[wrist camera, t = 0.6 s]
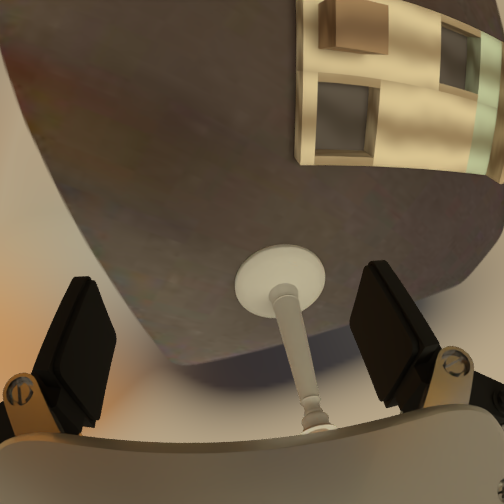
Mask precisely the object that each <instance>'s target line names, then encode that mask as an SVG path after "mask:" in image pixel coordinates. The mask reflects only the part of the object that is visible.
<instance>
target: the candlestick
mask: <svg viewBox="0 0 504 504" xmlns="http://www.w3.org/2000/svg"><path fill="white" fill-rule="evenodd" d="M324 283H325V271H324V268H323V265H322V263H321V261H320V260H319V258H318V257H317V256H316V255H315V254H314V253H313V252H311V251H310V250H308V249H306V248H304V247H301V246H298V245H292V244H279V245H273V246H269V247H266V248H264V249H261V250H259V251H257V252H256V253H254V254H253V255H251V256H250V257H249V258H248V259H246V260H245V261H244V263H243V264H242V265H241V267H240V268H239V270H238V272H237V275H236V278H235V292H236V296H237V298H238V300H239V302H240V303H241V305H242V306H243V307H244V308H245V309H247V310H248V311H250V312H251V313H253V314H255V315H258V316H262V317H267V318H276V319H277V322H278V326H279V329H280V333H281V336H282V339H283V343H284V346H285V350H286V353H287V356H288V360H289V363H290V367H291V370H292V374H293V377H294V380H295V384H296V388H297V391H298V395H299V398H300V404H301V405H302V406H303V407H304V410H305V412H304V416H305V417H304V418H303V419H302V426H303V427H304V430H303V432H302V433H301V434H300V435H303V434H310V433H316V432H322V431H328V430H333V429H337V427H336V426H335V425H333V424H330V423H329V420H328V419H329V417H328V415H327V414H326V413H325V412H323V410H322V409H321V408H320V404H319V403H320V400H321V398H320V396H319V392H318V387H317V382H316V377H315V372H314V368H313V363H312V359H311V354H310V349H309V345H308V340H307V335H306V331H305V326H304V322H303V318H302V313H301V311H303V310H304V309H306V308H307V307H309V306H310V305H311V304H312V303H313V302H314V301H315V300H316V299H317V298H318V297H319V295H320V293H321V292H322V289H323V287H324Z"/></svg>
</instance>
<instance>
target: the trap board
mask: <svg viewBox="0 0 504 504" xmlns="http://www.w3.org/2000/svg"><path fill="white" fill-rule="evenodd" d="M322 1H324V0H296V111H295V147H294V158H295V159H296V160H297V161H298V163H299V164H300V165H354V166H383V167H403V168H419V169H432V170H444V171H455V172H464V173H473V174H482V175H487V176H488V177H490V178H491V179H493V180H494V181H496V182H497V183H499V184H503V182H504V42H501V41H499V40H498V39H496V38H494V37H492V36H490V35H488V34H486V33H484V32H482V31H480V30H478V29H476V28H473V27H471V26H469V25H467V24H465V23H462V22H460V21H458V20H455V19H453V18H450V17H448V16H445V15H443V14H440V13H438V12H435V11H432V10H429V9H427V8H424V7H421V6H418V5H415V4H412V3H408V2H405V1H402V0H368V1H373V2H377V3H381V4H385V5H388V7H389V46H388V55H368V54H358V53H352V52H344V51H336V50H327V49H318V4H319V3H320V2H322Z"/></svg>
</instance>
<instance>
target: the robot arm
mask: <svg viewBox="0 0 504 504" xmlns="http://www.w3.org/2000/svg"><path fill="white" fill-rule="evenodd" d="M350 328H351V331H352V333H353V335H354V338H355V340H356V343H357V345H358V348H359V350H360V353H361V355H362V357H363V360H364V362H365V365H366V367H367V370H368V372H369V375H370V378H371V380H372V383H373V385H374V388H375V391H376V393H377V396H378V398H379V400H380V401H384V404H385V407H386V408H389V407H393V406H397V405H398V406H399V408H400V410H401V412H400V414H399V415H395V416H391V417H388V418H384V419H379V420H375V421H371V422H367V423H362V424H358V425H353V426H349V427H344V428H338V429H333V430H328V431H322V432H316V433H310V434H303V435H296V436H289V437H281V438H272V439H262V440H251V441H238V442H219V443H160V442H140V441H127V440H126V441H125V440H115V439H105V438H95V437H86V436H83V435H82V434H81V431H82V427H83V426H85V427H92V428H95V422H96V420H99V419H100V416H101V410H102V405H103V400H104V395H105V389H106V385H107V380H108V375H109V371H110V366H111V362H112V358H113V353H114V349H115V345H116V333H115V330H114V328H113V326H112V323H111V321H110V318H109V316H108V313H107V311H106V308H105V305H104V303H103V300H102V297H101V295H100V292H99V289H98V287H97V284H96V282H95V281H94V280H91V278H90V277H88V276H85V277H84V276H83V277H74V278H73V279H72V281H71V283H70V285H69V287H68V289H67V291H66V293H65V295H64V297H63V299H62V301H61V303H60V305H59V308H58V310H57V312H56V314H55V316H54V318H53V321H52V323H51V325H50V328H49V330H48V332H47V335H46V337H45V339H44V342H43V344H42V347H41V349H40V352H39V354H38V357H37V359H36V362H35V364H34V367H33V370H32V373H31V374H28V373H19V374H16V375H14V376H13V377H11V378H10V379H9V381H8V382H7V383H6V385H5V387H4V390H3V401H2V402H1V403H0V504H504V384H502V383H500V382H498V381H496V380H493V379H491V378H489V377H487V376H485V375H482V374H480V373H478V372H476V371H474V364H473V361H472V359H471V357H470V356H469V354H468V353H466V352H465V351H464V350H463V349H461V348H459V347H454V346H447V347H445V348H443V349H442V348H441V347H440V345H439V342H438V340H437V338H436V337H435V335H434V333H433V332H432V330H431V328H430V327H429V325H428V323H427V322H426V320H425V319H424V317H423V315H422V314H421V312H420V311H419V309H418V307H417V306H416V304H415V303H414V301H413V300H412V298H411V296H410V295H409V293H408V292H407V290H406V289H405V287H404V286H403V284H402V283H401V281H400V280H399V278H398V277H397V275H396V274H395V273H394V271H393V270H392V268H391V267H390V265H389V264H388V262H387V261H385V260H380V261H370V262H369V263H368V266H365V267H364V269H363V273H362V277H361V281H360V285H359V289H358V292H357V296H356V300H355V303H354V307H353V310H352V314H351V317H350Z"/></svg>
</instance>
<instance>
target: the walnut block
mask: <svg viewBox="0 0 504 504" xmlns="http://www.w3.org/2000/svg"><path fill="white" fill-rule="evenodd" d="M388 46H389V7H388V5H385V4H381V3H377V2H373V1H368V0H324V1H322V2H320V3H319V4H318V49H327V50H336V51H344V52H352V53H358V54H368V55H388Z"/></svg>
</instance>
